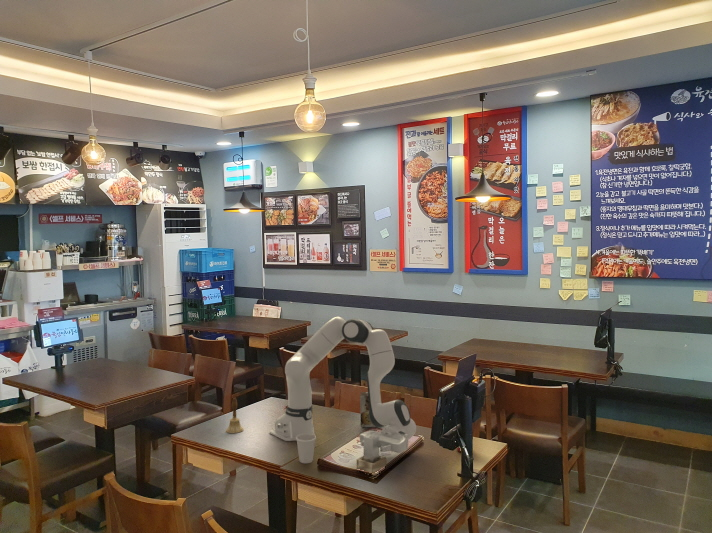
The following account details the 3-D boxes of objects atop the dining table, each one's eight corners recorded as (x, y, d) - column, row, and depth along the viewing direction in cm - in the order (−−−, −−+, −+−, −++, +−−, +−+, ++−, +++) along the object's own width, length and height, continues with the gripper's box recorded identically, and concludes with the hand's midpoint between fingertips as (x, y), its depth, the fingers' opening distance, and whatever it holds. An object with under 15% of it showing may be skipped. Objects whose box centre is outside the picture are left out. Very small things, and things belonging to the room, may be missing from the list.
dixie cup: (297, 456, 223) (297, 433, 222) (317, 456, 223) (317, 433, 222) (294, 464, 214) (294, 440, 214) (314, 464, 214) (314, 440, 214)
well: (356, 470, 209) (356, 459, 209) (368, 463, 216) (368, 452, 215) (373, 476, 204) (374, 464, 204) (385, 468, 211) (386, 457, 210)
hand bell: (222, 430, 255) (222, 397, 254) (238, 426, 260) (238, 394, 260) (231, 434, 248) (231, 401, 248) (246, 430, 254) (246, 398, 253)
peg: (363, 468, 209) (363, 436, 209) (369, 464, 213) (370, 433, 212) (372, 471, 207) (372, 439, 206) (379, 467, 210) (379, 435, 210)
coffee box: (379, 423, 265) (379, 391, 265) (378, 427, 259) (378, 395, 258) (361, 422, 266) (361, 391, 266) (360, 427, 260) (360, 394, 259)
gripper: (370, 424, 227) (351, 433, 216) (411, 435, 215) (393, 445, 204) (370, 439, 227) (351, 448, 216) (411, 450, 215) (393, 461, 204)
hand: (371, 447), depth 210 cm, fingers open, 8 cm apart
